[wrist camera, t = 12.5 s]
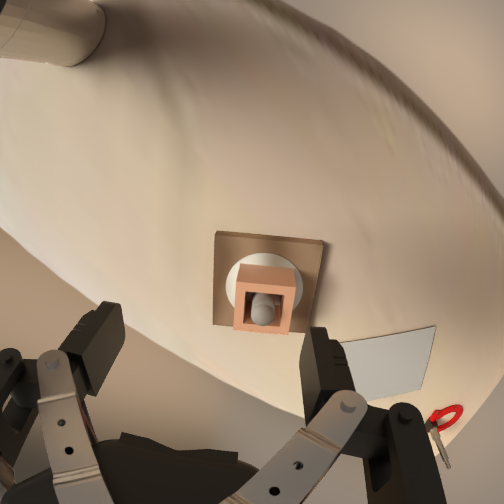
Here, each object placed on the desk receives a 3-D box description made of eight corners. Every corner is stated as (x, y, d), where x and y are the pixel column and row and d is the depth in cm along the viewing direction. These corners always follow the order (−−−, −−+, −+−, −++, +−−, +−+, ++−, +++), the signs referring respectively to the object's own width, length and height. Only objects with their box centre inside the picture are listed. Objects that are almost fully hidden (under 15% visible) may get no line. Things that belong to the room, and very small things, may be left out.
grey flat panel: (324, 282, 38) (325, 284, 37) (487, 258, 35) (489, 260, 34) (326, 404, 46) (326, 407, 46) (457, 376, 43) (459, 378, 43)
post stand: (214, 317, 40) (202, 358, 33) (217, 230, 36) (201, 259, 28) (305, 326, 40) (311, 368, 32) (321, 240, 35) (334, 271, 28)
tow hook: (467, 400, 47) (434, 406, 46) (491, 445, 35) (458, 457, 34) (449, 425, 50) (416, 432, 50) (468, 468, 38) (434, 479, 38)
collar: (237, 308, 37) (233, 329, 33) (240, 263, 35) (235, 281, 31) (286, 312, 37) (288, 334, 33) (293, 268, 35) (295, 287, 31)
